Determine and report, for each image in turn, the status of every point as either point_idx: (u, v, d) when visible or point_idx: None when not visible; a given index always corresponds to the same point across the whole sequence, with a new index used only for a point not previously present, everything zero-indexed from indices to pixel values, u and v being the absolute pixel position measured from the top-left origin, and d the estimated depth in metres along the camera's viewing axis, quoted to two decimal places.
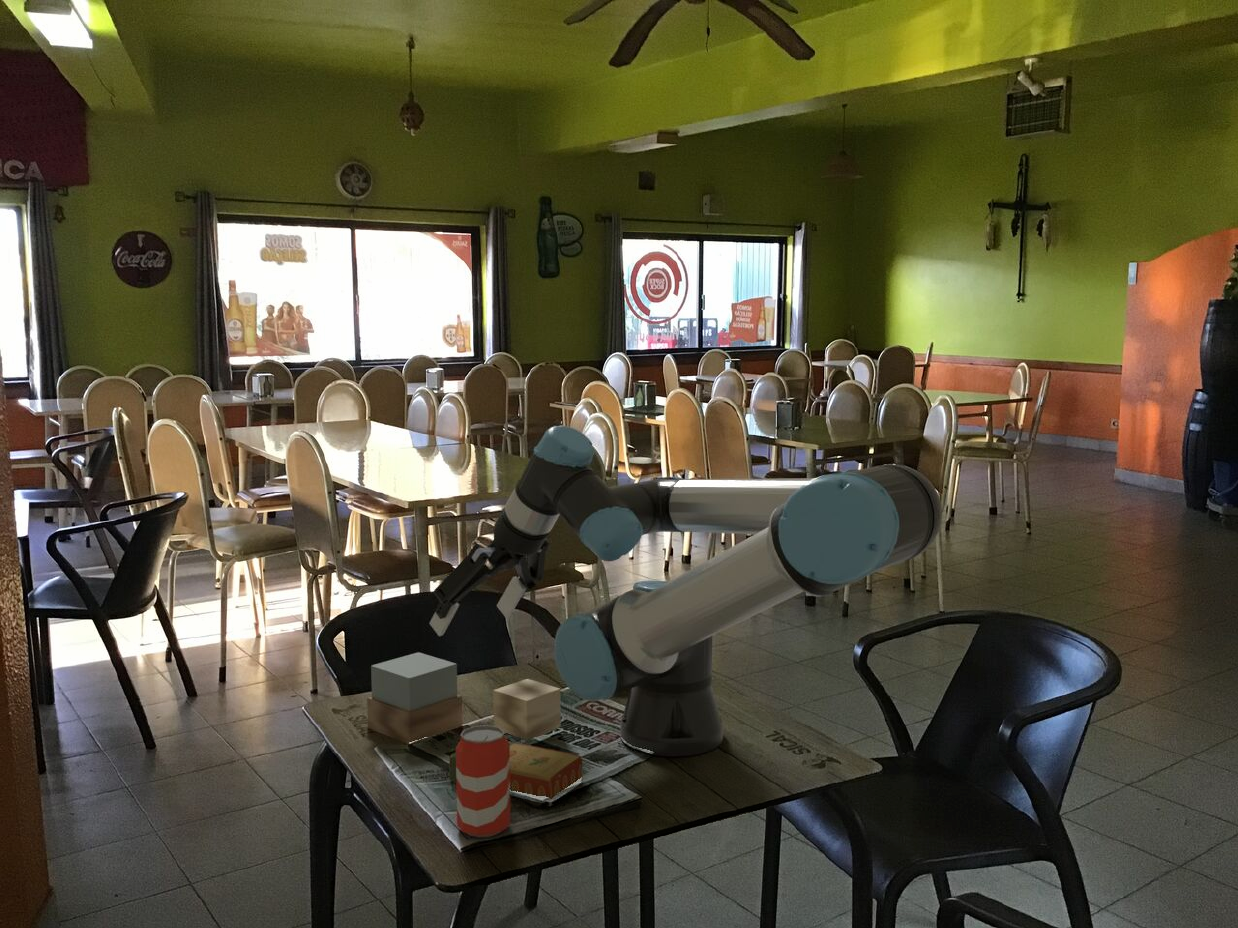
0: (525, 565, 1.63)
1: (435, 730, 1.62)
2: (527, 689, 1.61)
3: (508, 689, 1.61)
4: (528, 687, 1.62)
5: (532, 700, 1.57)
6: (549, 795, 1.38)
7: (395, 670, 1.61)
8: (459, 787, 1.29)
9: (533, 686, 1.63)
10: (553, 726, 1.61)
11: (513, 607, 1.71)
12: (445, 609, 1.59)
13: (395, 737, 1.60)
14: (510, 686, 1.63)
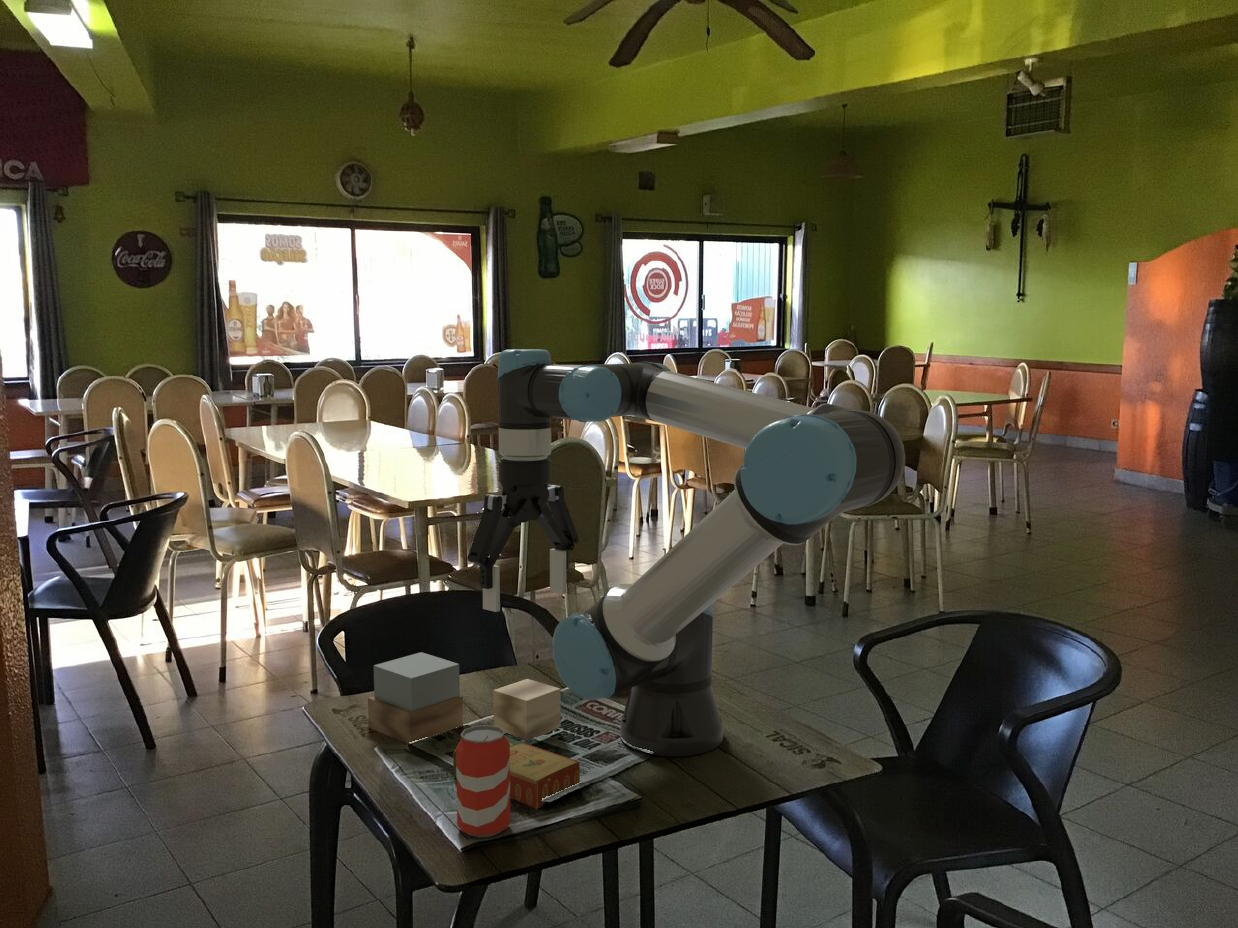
0: (549, 513, 1.59)
1: (436, 730, 1.62)
2: (527, 689, 1.61)
3: (508, 689, 1.61)
4: (528, 687, 1.62)
5: (532, 700, 1.57)
6: (535, 798, 1.37)
7: (397, 670, 1.61)
8: (459, 787, 1.29)
9: (533, 686, 1.63)
10: (553, 726, 1.61)
11: (564, 578, 1.64)
12: (487, 575, 1.52)
13: (396, 737, 1.60)
14: (510, 686, 1.63)
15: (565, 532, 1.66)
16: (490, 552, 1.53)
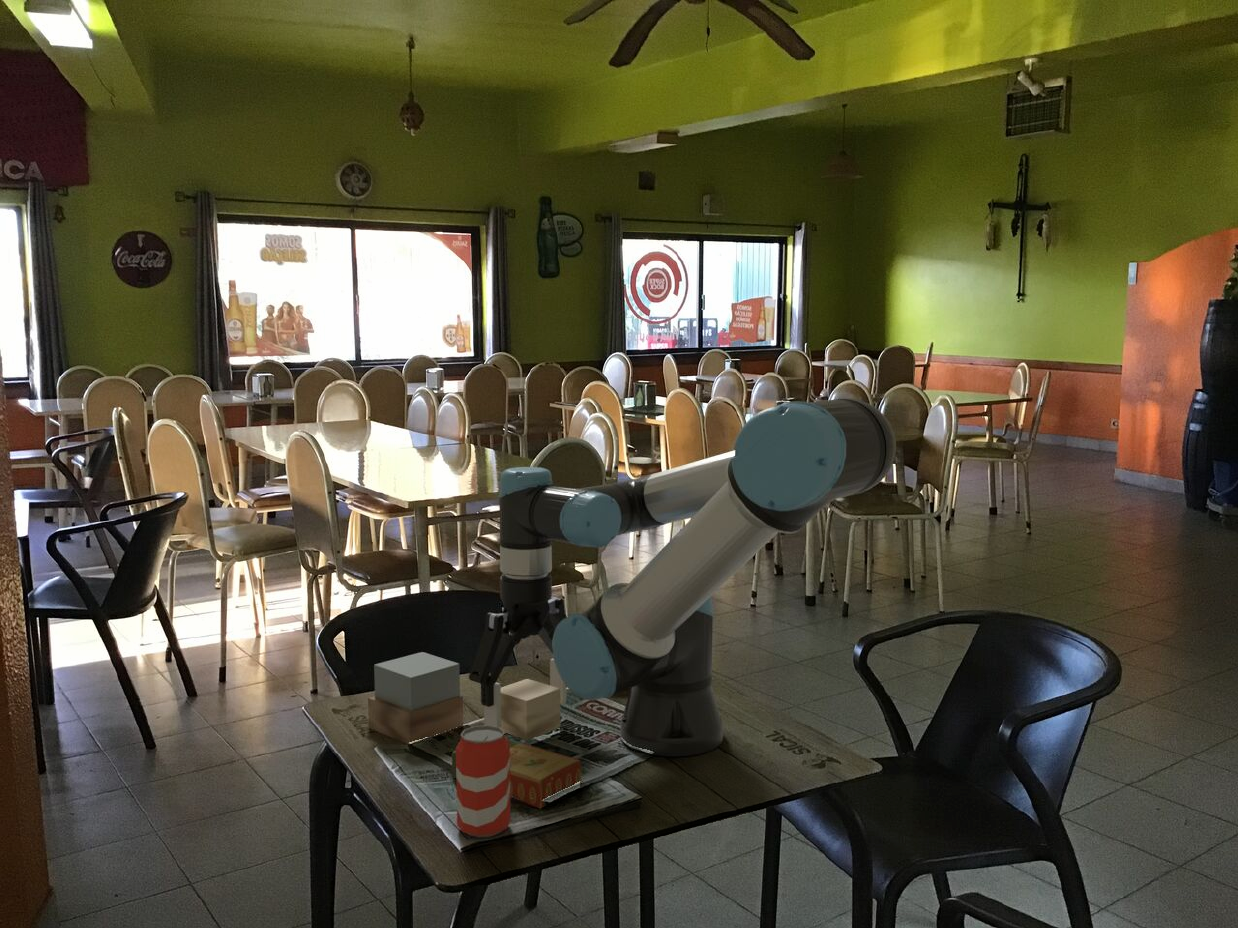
0: (549, 627, 1.61)
1: (436, 730, 1.62)
2: (527, 689, 1.61)
3: (508, 689, 1.61)
4: (528, 687, 1.62)
5: (532, 700, 1.57)
6: (539, 797, 1.37)
7: (398, 670, 1.61)
8: (459, 787, 1.29)
9: (533, 686, 1.63)
10: (553, 726, 1.61)
11: (564, 689, 1.66)
12: (488, 693, 1.55)
13: (396, 737, 1.60)
14: (510, 686, 1.63)
15: None
16: (491, 670, 1.55)
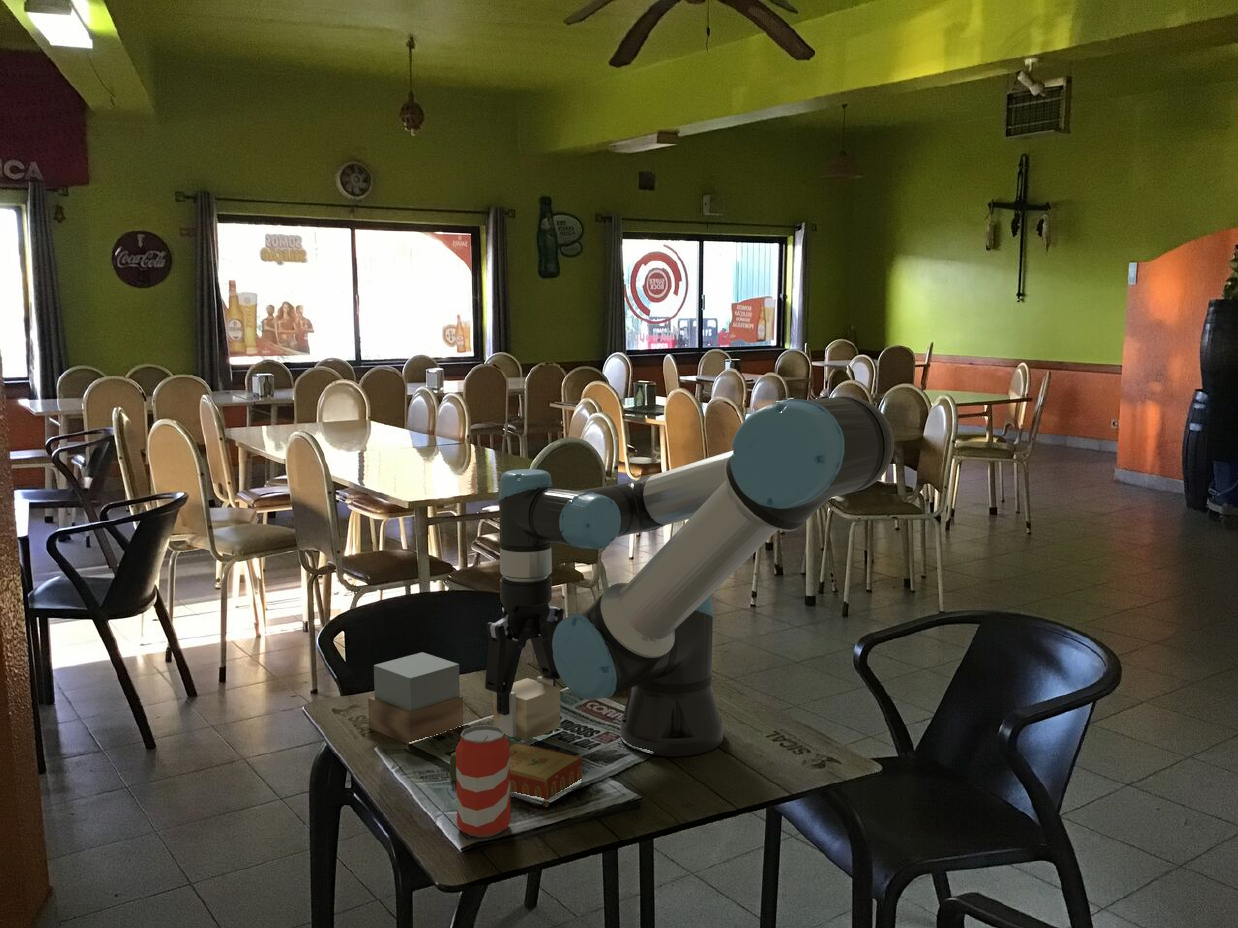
0: (545, 634, 1.61)
1: (436, 730, 1.61)
2: (527, 689, 1.61)
3: None
4: (528, 687, 1.62)
5: (532, 699, 1.57)
6: (545, 796, 1.38)
7: (397, 670, 1.61)
8: (459, 787, 1.29)
9: (533, 685, 1.63)
10: (553, 725, 1.61)
11: None
12: (504, 702, 1.57)
13: (396, 737, 1.60)
14: None
15: None
16: (505, 680, 1.57)
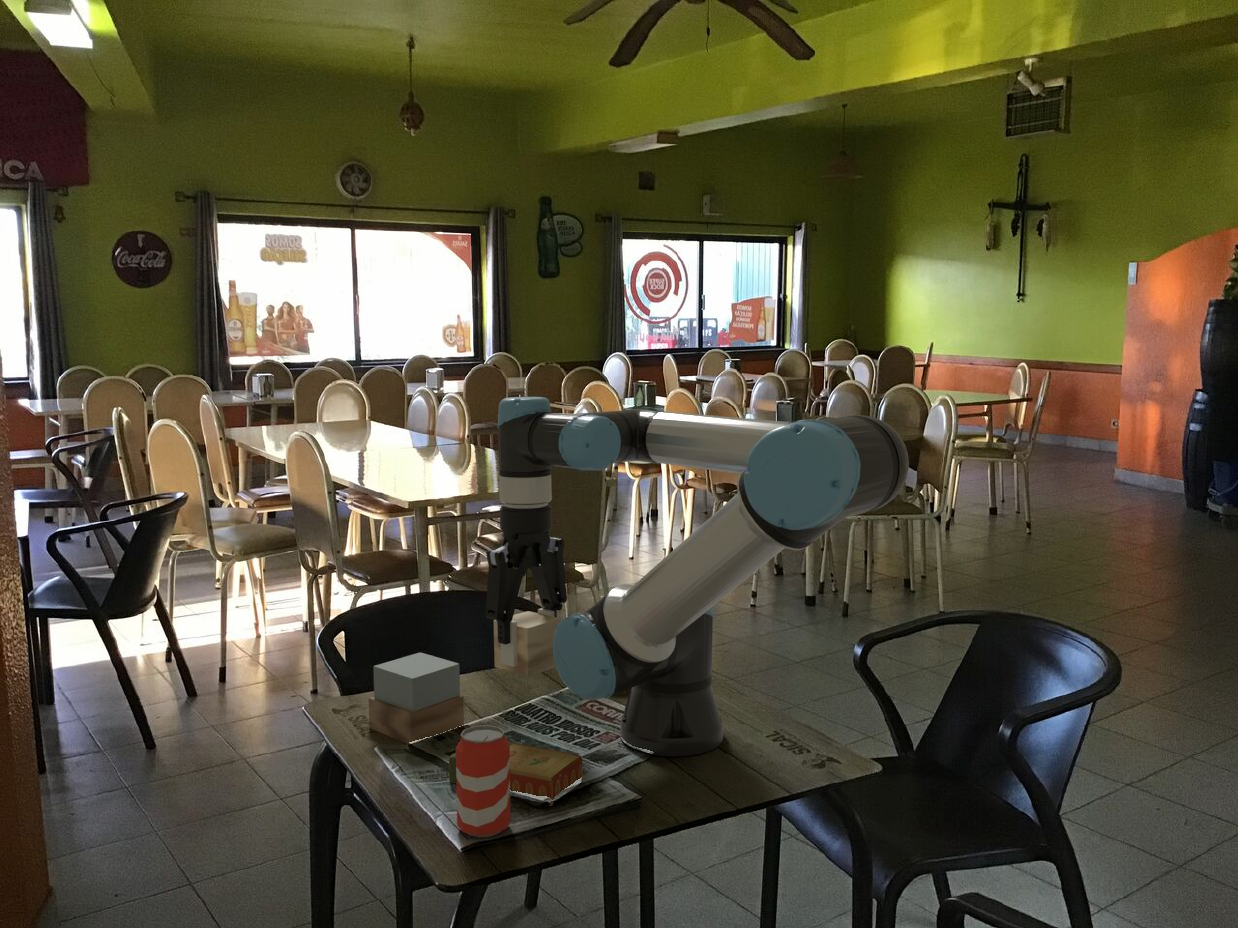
0: (546, 563, 1.59)
1: (437, 730, 1.62)
2: (528, 619, 1.59)
3: None
4: (528, 618, 1.60)
5: (533, 628, 1.56)
6: (550, 795, 1.38)
7: (398, 671, 1.61)
8: (459, 787, 1.29)
9: (534, 617, 1.61)
10: None
11: None
12: (505, 630, 1.55)
13: (397, 737, 1.60)
14: None
15: (555, 590, 1.65)
16: (505, 608, 1.55)
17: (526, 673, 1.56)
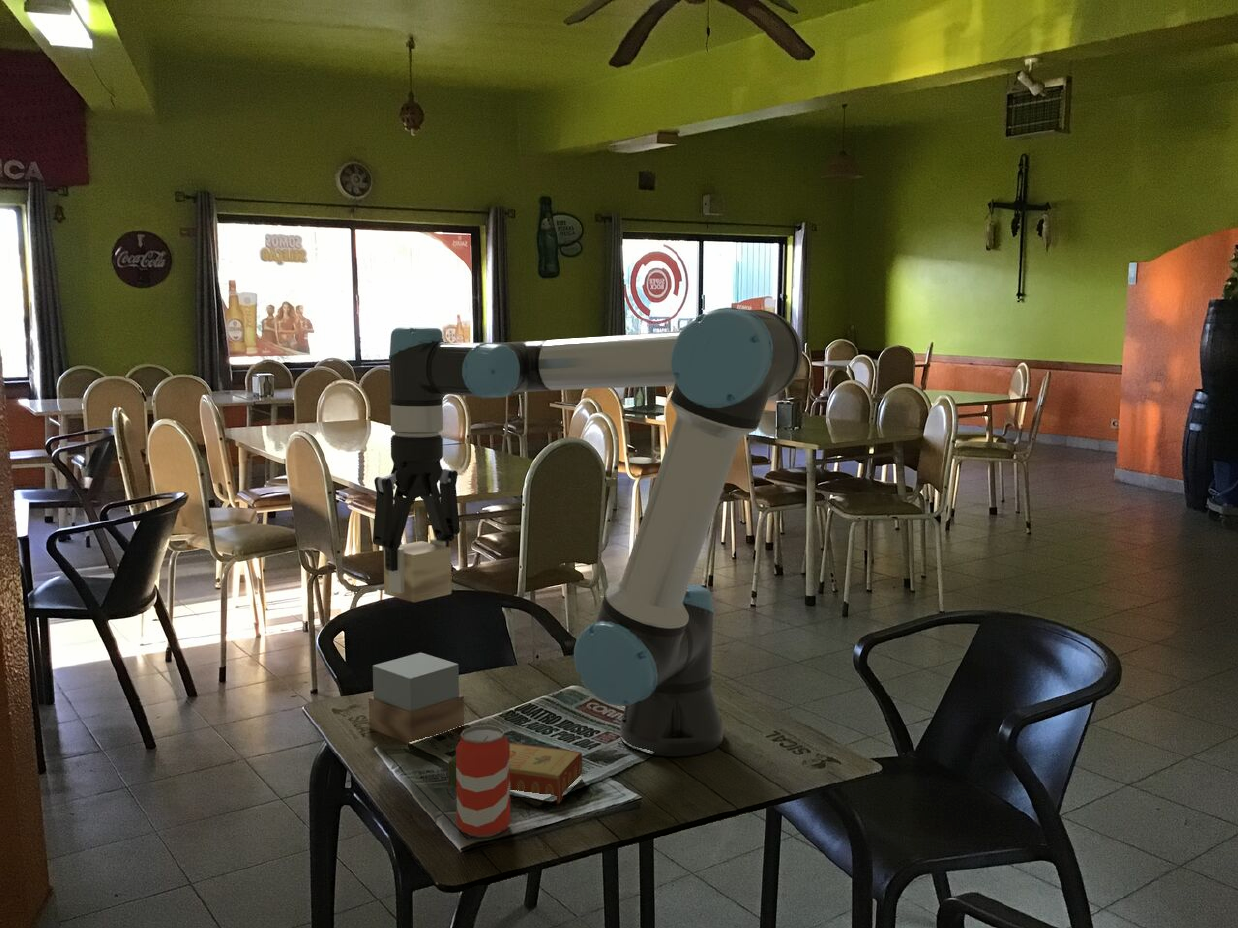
0: (437, 493, 1.61)
1: (437, 730, 1.62)
2: (417, 548, 1.61)
3: (399, 547, 1.62)
4: (419, 546, 1.62)
5: (420, 555, 1.58)
6: (557, 793, 1.39)
7: (397, 671, 1.61)
8: (459, 787, 1.29)
9: (425, 546, 1.63)
10: (443, 585, 1.62)
11: None
12: (392, 557, 1.57)
13: (397, 737, 1.60)
14: (402, 545, 1.63)
15: (448, 522, 1.67)
16: (392, 536, 1.57)
17: (412, 599, 1.58)
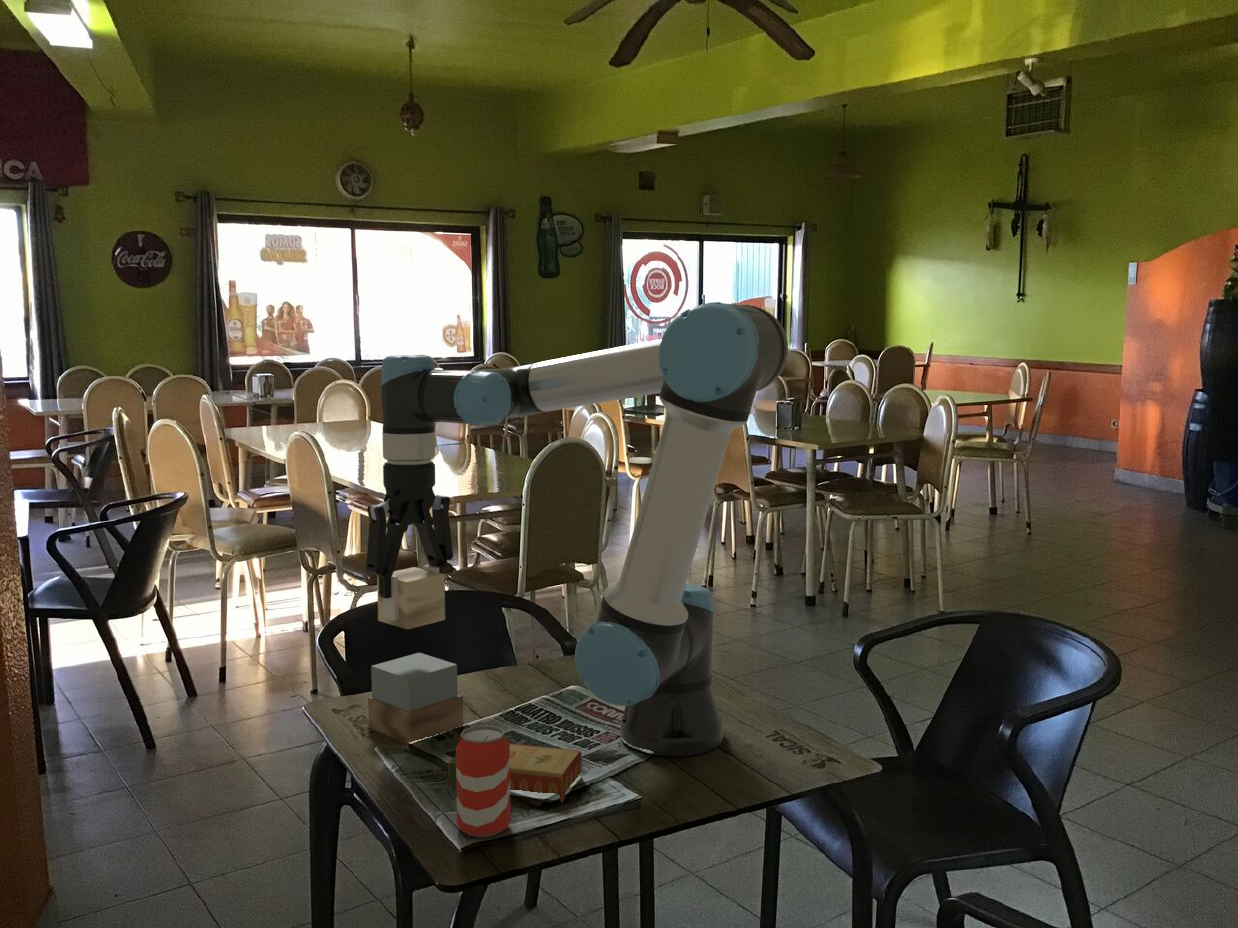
0: (430, 520, 1.62)
1: (436, 730, 1.62)
2: (411, 574, 1.62)
3: None
4: (412, 573, 1.63)
5: (413, 582, 1.58)
6: (561, 791, 1.39)
7: (395, 671, 1.61)
8: (459, 787, 1.29)
9: (418, 572, 1.63)
10: (437, 611, 1.62)
11: None
12: (386, 585, 1.58)
13: (396, 737, 1.60)
14: (395, 572, 1.64)
15: (441, 548, 1.67)
16: (386, 563, 1.58)
17: (406, 626, 1.58)
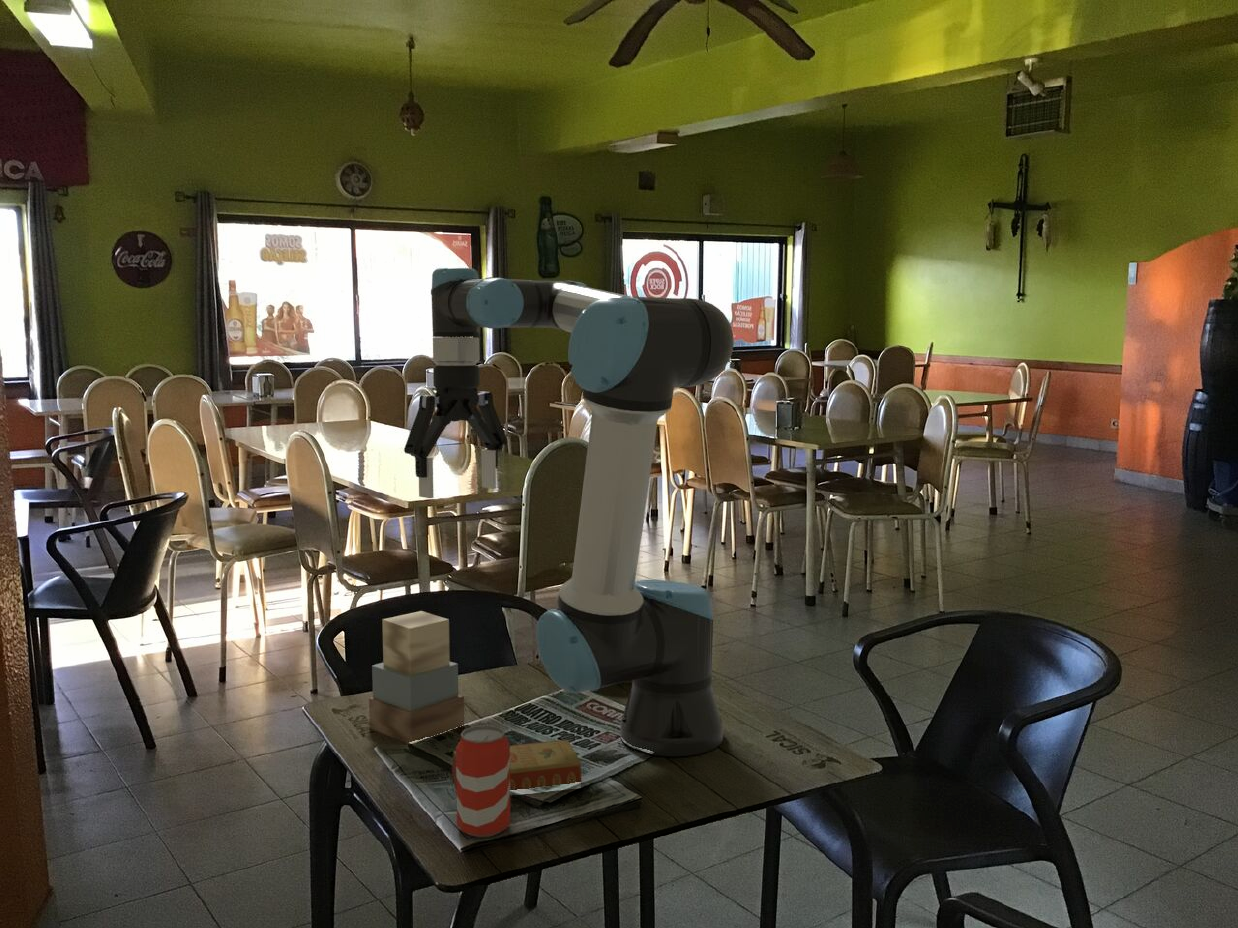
0: (478, 415, 1.81)
1: (437, 730, 1.61)
2: (415, 619, 1.63)
3: (397, 619, 1.63)
4: (417, 618, 1.63)
5: (416, 628, 1.59)
6: (579, 778, 1.43)
7: (396, 670, 1.61)
8: (459, 787, 1.29)
9: (423, 617, 1.64)
10: (441, 656, 1.62)
11: (494, 475, 1.85)
12: (422, 465, 1.74)
13: (397, 737, 1.60)
14: (401, 616, 1.64)
15: (495, 435, 1.87)
16: (424, 445, 1.74)
17: (409, 672, 1.59)
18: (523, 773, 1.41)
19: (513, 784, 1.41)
